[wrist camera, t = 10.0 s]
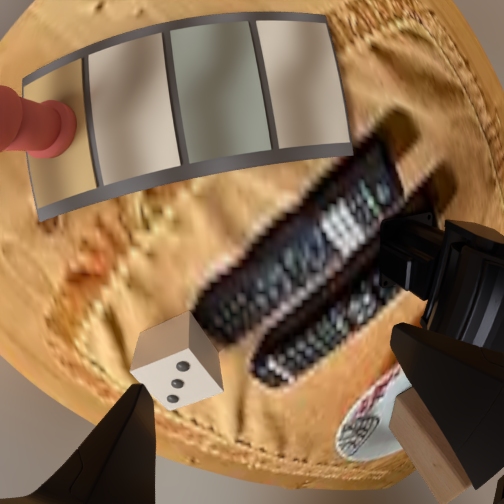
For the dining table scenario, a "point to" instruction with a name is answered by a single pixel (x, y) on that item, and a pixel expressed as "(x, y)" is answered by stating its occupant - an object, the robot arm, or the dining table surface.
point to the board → (190, 105)
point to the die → (177, 362)
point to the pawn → (35, 125)
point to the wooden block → (427, 447)
